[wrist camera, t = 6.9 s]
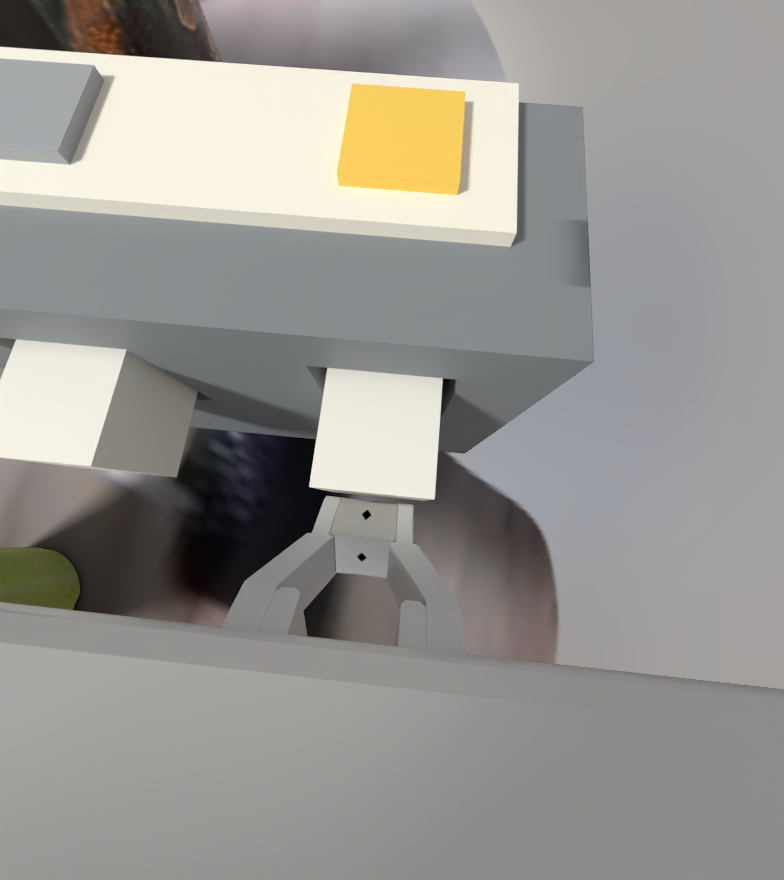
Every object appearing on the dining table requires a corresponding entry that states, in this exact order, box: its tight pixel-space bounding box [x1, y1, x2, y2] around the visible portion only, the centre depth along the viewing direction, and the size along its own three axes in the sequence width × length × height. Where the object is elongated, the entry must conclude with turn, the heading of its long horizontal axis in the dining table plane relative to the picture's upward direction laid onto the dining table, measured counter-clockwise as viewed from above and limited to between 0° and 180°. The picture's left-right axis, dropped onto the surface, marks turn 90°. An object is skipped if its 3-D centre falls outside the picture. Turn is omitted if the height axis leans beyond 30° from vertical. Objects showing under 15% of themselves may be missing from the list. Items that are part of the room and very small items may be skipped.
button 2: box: [309, 368, 443, 501], centre depth 11 cm, size 5×4×4 cm
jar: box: [0, 0, 222, 62], centre depth 18 cm, size 12×12×15 cm
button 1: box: [0, 339, 198, 477], centre depth 11 cm, size 5×4×4 cm
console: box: [0, 47, 594, 453], centre depth 14 cm, size 8×20×14 cm, turn 84°
